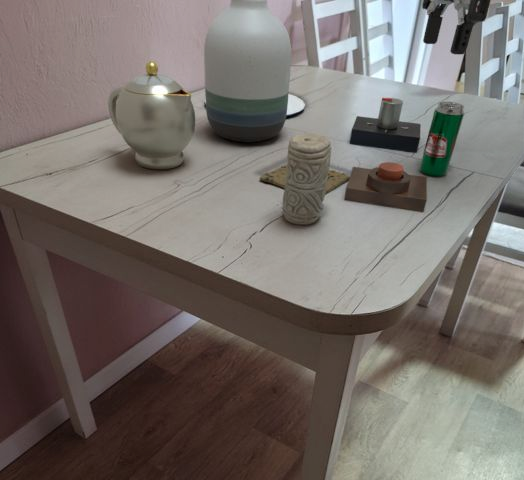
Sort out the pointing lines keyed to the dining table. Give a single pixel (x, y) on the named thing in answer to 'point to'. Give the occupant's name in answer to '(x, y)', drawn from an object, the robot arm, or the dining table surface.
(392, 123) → the dial
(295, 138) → the carving
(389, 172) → the release button
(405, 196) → the button console
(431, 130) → the soda can
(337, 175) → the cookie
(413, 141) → the dial panel
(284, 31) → the vase
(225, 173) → the dining table surface
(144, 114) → the teapot
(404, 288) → the dining table surface
